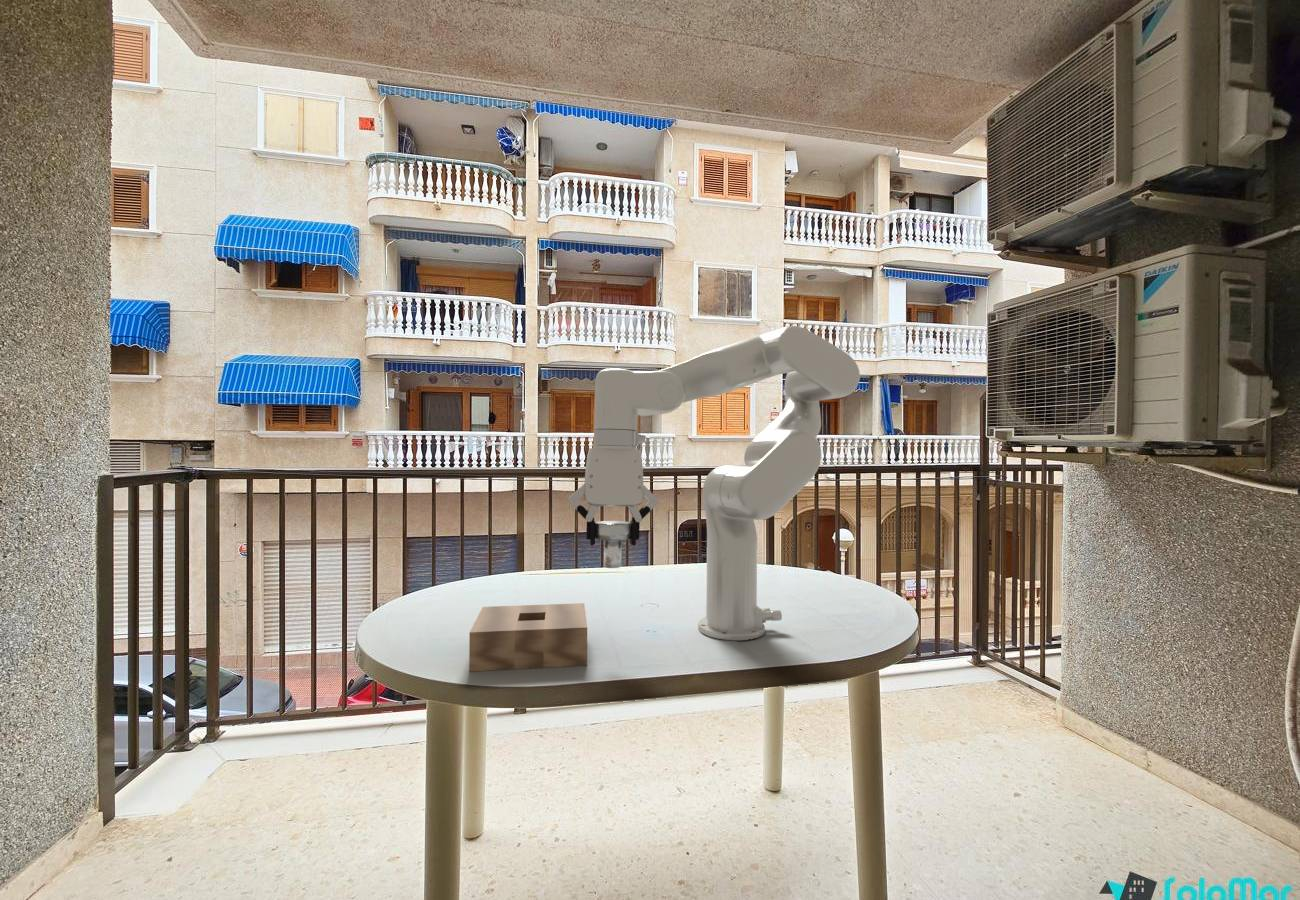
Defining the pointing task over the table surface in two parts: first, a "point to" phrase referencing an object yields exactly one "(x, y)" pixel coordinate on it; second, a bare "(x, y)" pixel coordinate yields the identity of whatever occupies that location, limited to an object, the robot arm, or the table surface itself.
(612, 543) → the steel pin
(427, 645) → the table surface
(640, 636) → the table surface
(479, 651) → the walnut block
